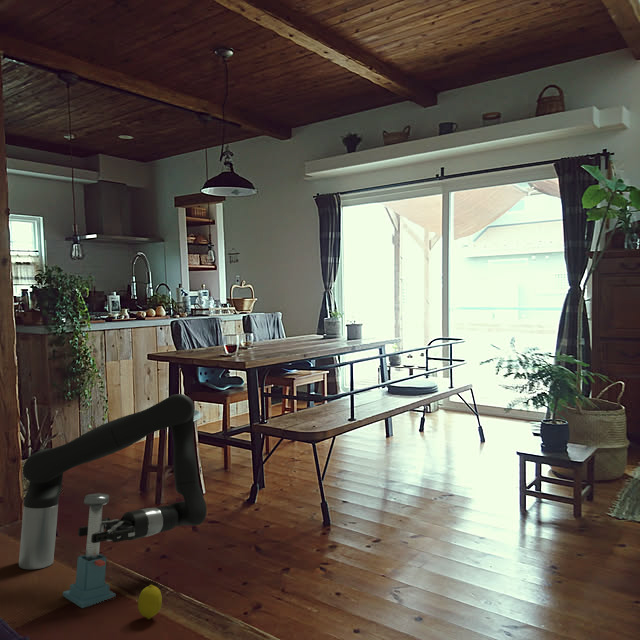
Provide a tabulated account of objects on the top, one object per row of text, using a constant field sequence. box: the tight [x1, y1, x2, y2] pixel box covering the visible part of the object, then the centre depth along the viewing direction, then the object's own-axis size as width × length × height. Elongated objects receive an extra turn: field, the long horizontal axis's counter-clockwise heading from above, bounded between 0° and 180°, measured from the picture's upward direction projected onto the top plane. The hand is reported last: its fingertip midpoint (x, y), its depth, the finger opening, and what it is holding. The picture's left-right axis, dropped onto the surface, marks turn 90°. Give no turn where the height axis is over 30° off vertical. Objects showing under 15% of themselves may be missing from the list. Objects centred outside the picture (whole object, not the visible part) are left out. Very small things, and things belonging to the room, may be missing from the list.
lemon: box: [137, 584, 163, 620], centre depth 136 cm, size 6×6×8 cm
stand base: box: [62, 552, 117, 609], centre depth 146 cm, size 10×9×10 cm
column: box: [83, 493, 110, 561], centre depth 147 cm, size 6×6×24 cm
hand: (85, 535), depth 145 cm, fingers open, 6 cm apart
